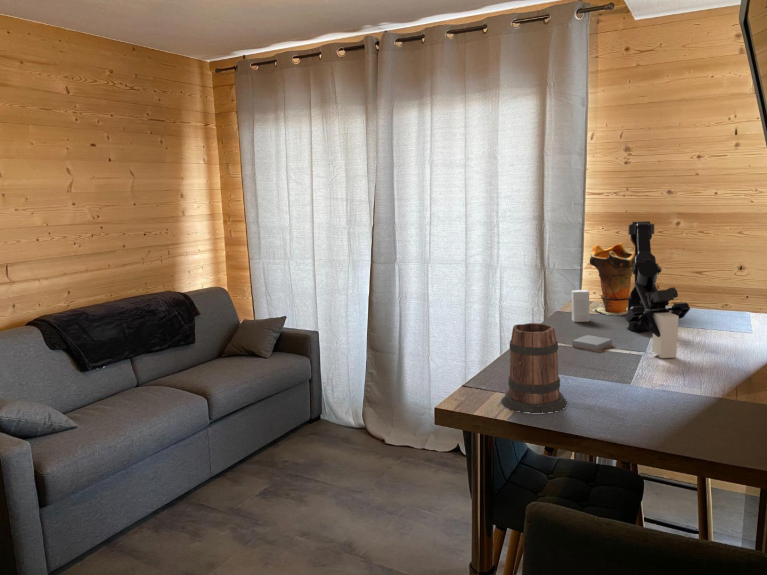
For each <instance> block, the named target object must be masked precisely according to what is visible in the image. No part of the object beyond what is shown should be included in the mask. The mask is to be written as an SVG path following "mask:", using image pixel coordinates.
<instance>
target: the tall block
mask: <svg viewBox="0 0 767 575" xmlns="http://www.w3.org/2000/svg"><path fill="white" fill-rule="evenodd" d="M678 318H679V316H677V315H675V314H672V313H670V312H668V313H654V321H655V323H656V325H657V327H658V330H659V332H660V337H657V336H656V335H655V334H653V333H652V345H651V346H652V348H651V349H652V350H651V352H652V353H654V354H656V355H655V357H658V358H660V359H670V358H671V359H672V358H677V353H678V352H677V350H678V347H677V346H678V333H679V319H678Z"/></svg>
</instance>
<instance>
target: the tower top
mask: <svg viewBox="0 0 767 575" xmlns="http://www.w3.org/2000/svg"><path fill="white" fill-rule="evenodd" d="M571 341H572V343H571V345H572V346H573V347H572V348H574V347H578V348H577V349H579V348H584V349H589V350H594V351H593V352H595V351H599V350H601V349H604V348H606V347H609V346H611V345H612V344H613V339H612V338H606V337H602V336H601V337H600V336H596V335H591V334H590V335H589V334H586V335H583V336H581V337H578V338H575V339H573V340H571ZM584 349H583V350H584ZM589 350H588V351H589Z"/></svg>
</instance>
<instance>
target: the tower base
mask: <svg viewBox="0 0 767 575" xmlns="http://www.w3.org/2000/svg"><path fill="white" fill-rule="evenodd" d="M616 346H617V344H616V343H612V345H611V346H609V347H606V348H604V349H601V350H599V351H594V350H589V349H584V348H578V347H573V346H572V344H571V345H569V347H570V348H574V349H579V350H585V351H589V352H595V353H602V352H604V351H607V350H609V349H611V348H613V347H616Z"/></svg>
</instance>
